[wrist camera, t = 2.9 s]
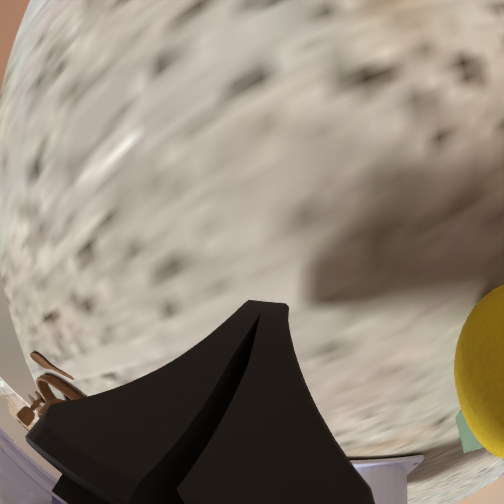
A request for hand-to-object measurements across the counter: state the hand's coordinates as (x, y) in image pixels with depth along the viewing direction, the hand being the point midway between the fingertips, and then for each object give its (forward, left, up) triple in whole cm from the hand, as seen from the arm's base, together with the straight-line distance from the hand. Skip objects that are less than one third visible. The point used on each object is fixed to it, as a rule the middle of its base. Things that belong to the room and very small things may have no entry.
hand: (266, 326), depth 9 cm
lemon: (0, -9, -2) cm, 10 cm away
